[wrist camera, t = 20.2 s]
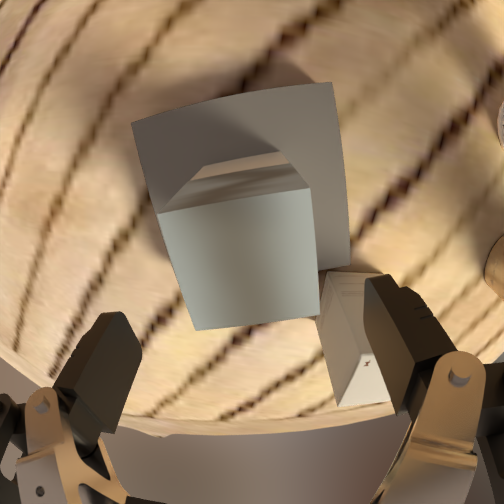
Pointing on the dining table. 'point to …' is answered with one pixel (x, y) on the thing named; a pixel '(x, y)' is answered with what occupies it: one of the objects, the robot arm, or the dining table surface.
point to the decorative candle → (501, 124)
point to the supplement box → (348, 341)
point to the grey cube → (244, 247)
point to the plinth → (256, 150)
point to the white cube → (242, 164)
